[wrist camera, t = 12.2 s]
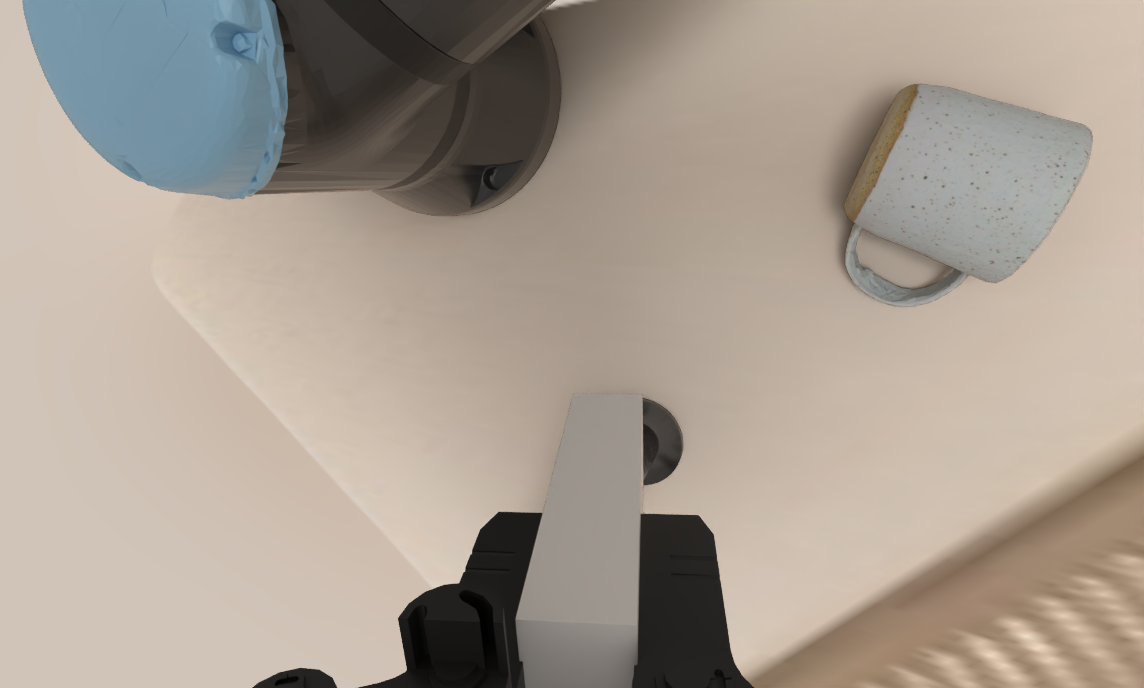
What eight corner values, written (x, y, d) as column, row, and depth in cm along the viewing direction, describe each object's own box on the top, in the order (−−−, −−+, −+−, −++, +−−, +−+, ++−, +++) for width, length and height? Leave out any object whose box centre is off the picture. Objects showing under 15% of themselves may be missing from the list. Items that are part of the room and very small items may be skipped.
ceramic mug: (893, 83, 34) (916, 62, 27) (1058, 132, 32) (1128, 122, 25) (808, 270, 38) (808, 294, 31) (951, 323, 36) (987, 361, 29)
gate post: (590, 469, 45) (491, 609, 31) (601, 389, 44) (501, 496, 29) (675, 491, 44) (613, 651, 29) (690, 409, 42) (632, 533, 27)
